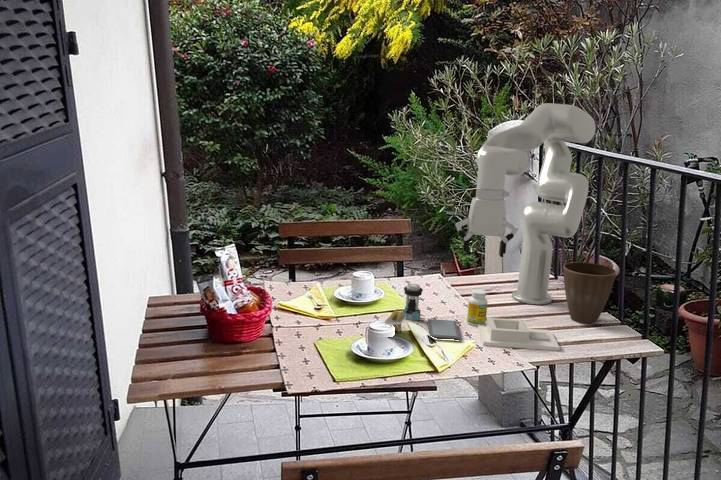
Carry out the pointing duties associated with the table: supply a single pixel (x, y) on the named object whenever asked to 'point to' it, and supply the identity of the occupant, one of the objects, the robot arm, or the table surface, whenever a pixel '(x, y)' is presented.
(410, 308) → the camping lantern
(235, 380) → the table surface
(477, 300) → the supplement bottle
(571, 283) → the plant pot
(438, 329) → the phone
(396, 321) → the platform
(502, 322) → the organizer tray
